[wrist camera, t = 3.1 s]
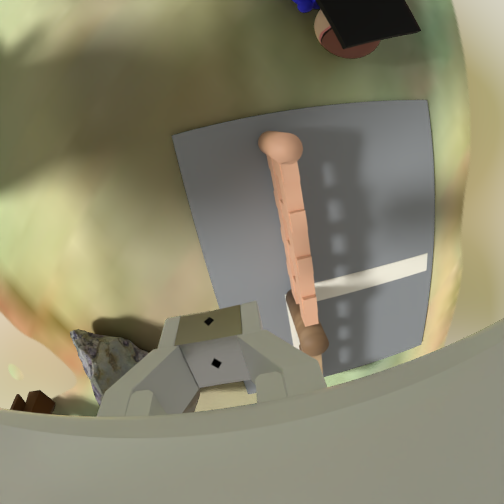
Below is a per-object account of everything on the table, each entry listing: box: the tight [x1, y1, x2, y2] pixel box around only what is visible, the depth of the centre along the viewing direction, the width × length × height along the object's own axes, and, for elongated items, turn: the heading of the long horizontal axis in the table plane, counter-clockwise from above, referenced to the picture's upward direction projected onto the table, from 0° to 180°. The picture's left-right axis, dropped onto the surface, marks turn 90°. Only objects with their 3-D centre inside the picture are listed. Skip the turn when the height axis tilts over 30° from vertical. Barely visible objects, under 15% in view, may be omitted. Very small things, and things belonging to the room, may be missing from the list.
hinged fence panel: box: [258, 131, 319, 327], centre depth 21 cm, size 13×2×6 cm, turn 11°
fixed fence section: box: [286, 289, 329, 374], centre depth 27 cm, size 12×2×7 cm, turn 11°
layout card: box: [172, 100, 435, 394], centre depth 27 cm, size 28×22×1 cm
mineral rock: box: [70, 329, 200, 413], centre depth 25 cm, size 13×11×10 cm
